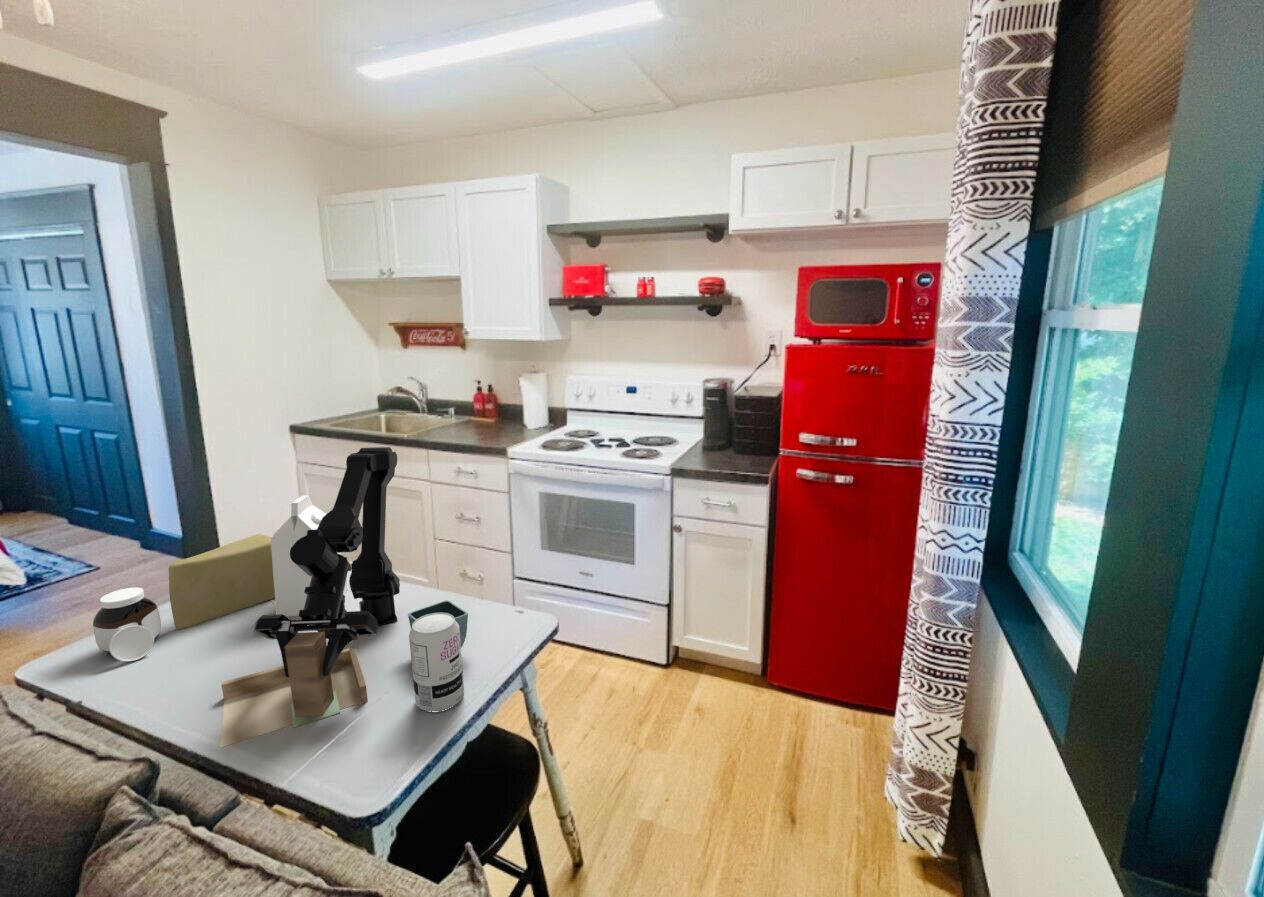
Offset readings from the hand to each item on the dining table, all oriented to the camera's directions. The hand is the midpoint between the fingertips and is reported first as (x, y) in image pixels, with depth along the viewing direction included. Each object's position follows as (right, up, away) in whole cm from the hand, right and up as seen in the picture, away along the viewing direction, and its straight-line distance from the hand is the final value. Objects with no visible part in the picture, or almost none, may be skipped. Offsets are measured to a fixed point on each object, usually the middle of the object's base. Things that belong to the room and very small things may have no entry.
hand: (306, 676), depth 99 cm
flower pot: (+16, -3, +20) cm, 26 cm away
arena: (-5, -7, +6) cm, 10 cm away
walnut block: (0, -6, +3) cm, 7 cm away
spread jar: (-48, -4, +23) cm, 53 cm away
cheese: (-40, 0, +40) cm, 56 cm away
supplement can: (+21, -7, +6) cm, 22 cm away
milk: (-22, +1, +42) cm, 47 cm away
